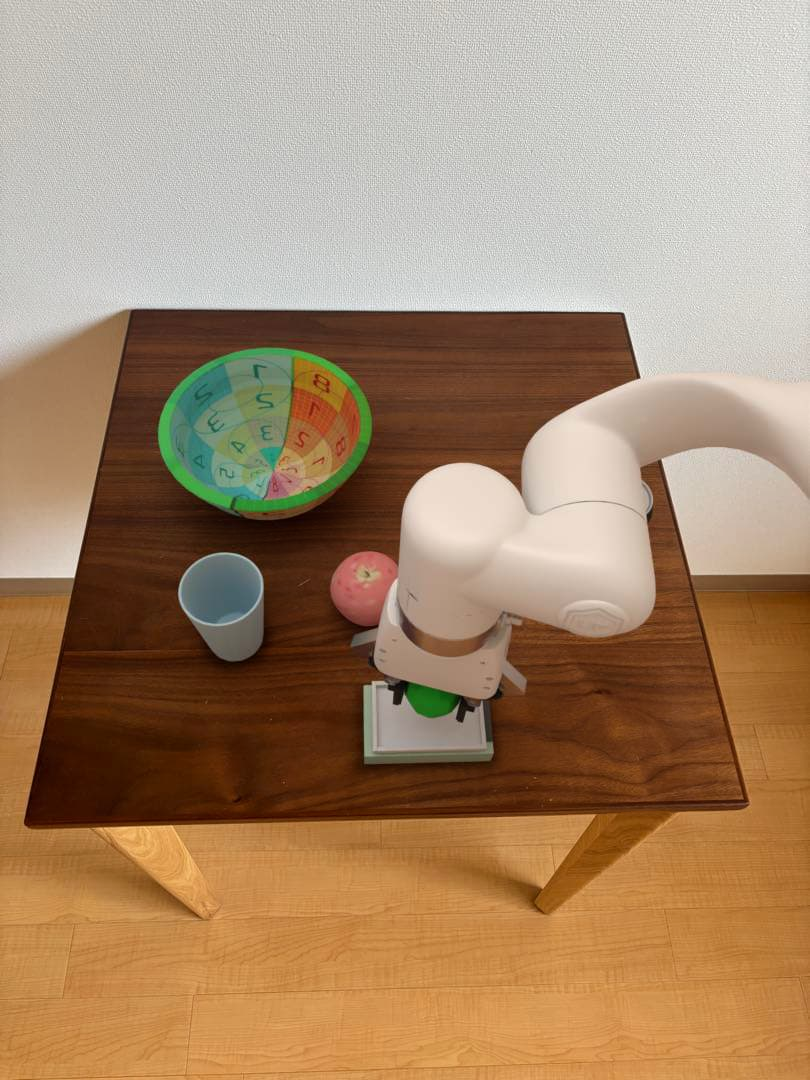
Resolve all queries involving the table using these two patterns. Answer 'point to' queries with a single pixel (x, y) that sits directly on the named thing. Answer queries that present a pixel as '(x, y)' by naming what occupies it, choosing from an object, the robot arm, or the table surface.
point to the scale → (421, 732)
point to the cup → (225, 604)
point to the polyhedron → (430, 700)
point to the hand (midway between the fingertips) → (431, 697)
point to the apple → (363, 586)
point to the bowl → (265, 432)
